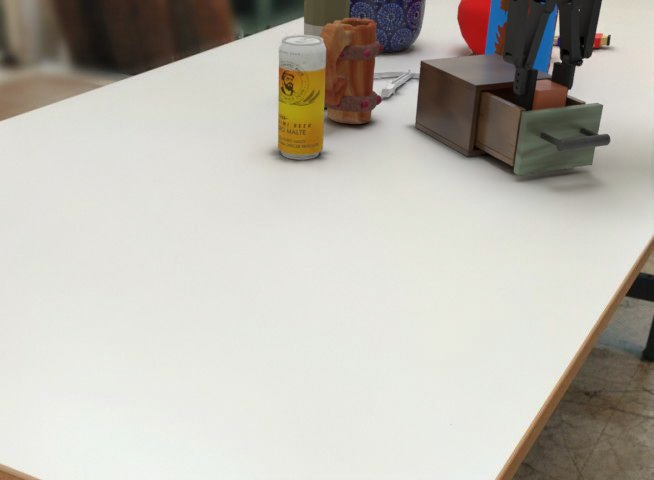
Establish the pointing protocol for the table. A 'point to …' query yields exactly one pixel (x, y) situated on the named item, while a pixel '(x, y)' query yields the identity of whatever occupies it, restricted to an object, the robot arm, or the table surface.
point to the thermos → (499, 29)
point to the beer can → (301, 96)
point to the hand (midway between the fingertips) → (538, 117)
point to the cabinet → (459, 96)
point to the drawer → (538, 132)
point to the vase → (474, 23)
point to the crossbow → (397, 82)
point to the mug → (350, 69)
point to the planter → (392, 20)
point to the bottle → (323, 14)
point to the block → (549, 95)
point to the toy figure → (598, 41)
